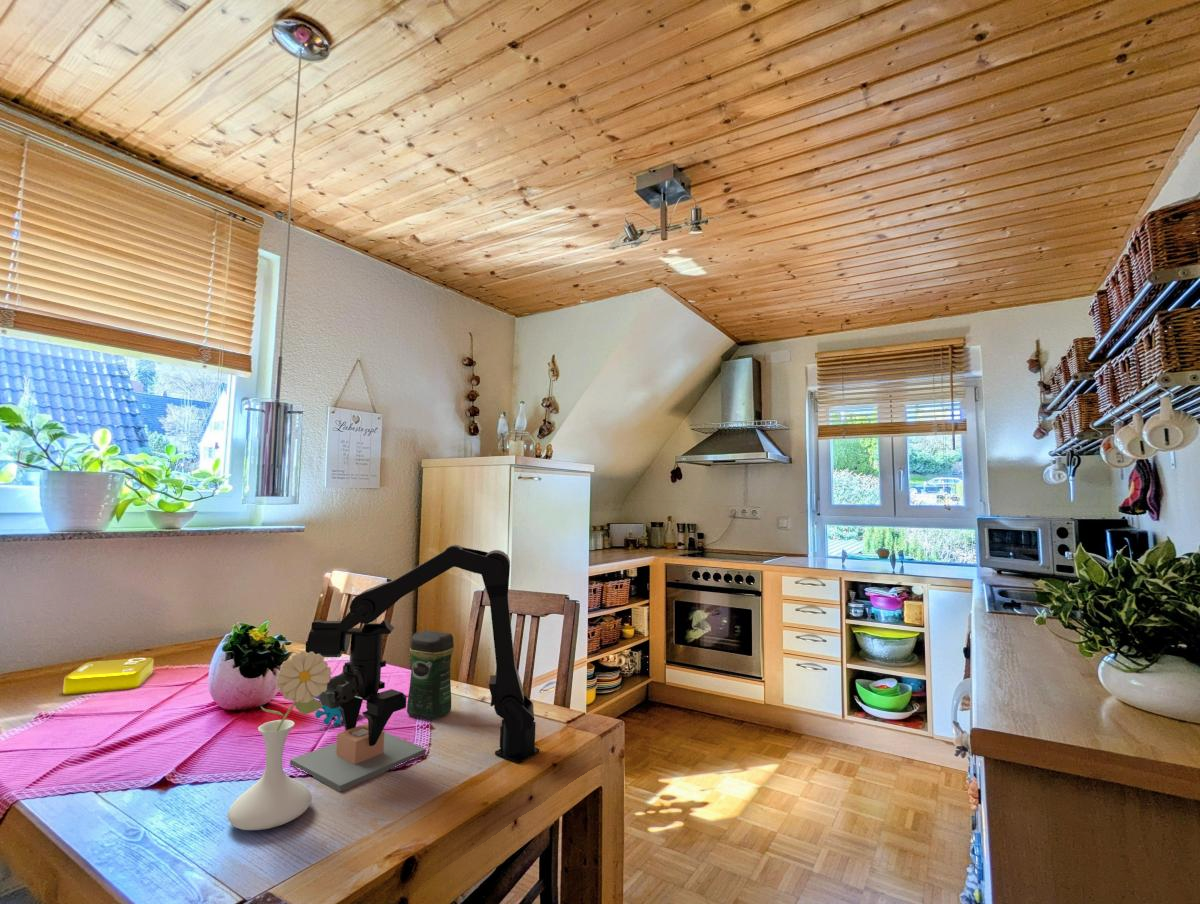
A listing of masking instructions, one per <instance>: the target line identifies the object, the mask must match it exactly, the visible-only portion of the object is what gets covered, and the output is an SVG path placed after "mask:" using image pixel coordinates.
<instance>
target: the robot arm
mask: <svg viewBox="0 0 1200 904" xmlns="http://www.w3.org/2000/svg"><path fill="white" fill-rule="evenodd" d="M452 568H458V569H461V570H464V571H466V572H467V571H468V572H470V573H473V574H478V575H481V577H482V581H483V585H484V588H485V590H486V593H487V597H488V600H489V605H490V606H489V607H490V614H491V627H492V637H493V647H494V657H495V665H496V674H494V675H493V674H491V675H489V683H488V688H489V691H490V695H491V697H490V705H489V706H490V707H494V711H495V713H496V715H497V716H498V717H500V718H501V725H500V727H499V749H497V750H495V751H494V754H495V756H498V757H501V758H503V759H506V760H510V761H511V760H513V761H512V762H514V761H516V762H515V763H517V762H520V763H522V762H524V761H526V760H528V759H529V758H531V757H533V756H534V754H535V753H537V752H538V753H540V752H539V751H541V750H540V748H539V747H536V725H537V722H536V721H535V713H534V712H535V711H534V702H533V701H532V700H531V699H530V698H529V697H528V696H527V695H526V694H525V693H524V687H523V684H522V680H521V677H520V673H519V671H518V670H519V669H518V668H517V665H516V661H515V660H516V659H515V651H514V642H513V641H514V640H513V633H512V632H513V631H512V622H511V621H512V620H511V612H510V611H511V610H510V603H509V586H510V574H511V573H510V570H511V560H510V557H509V556H508V554H507V553H505V552H504V551H502V550H498V549H493V550H491V551H489V552H488V551H484V550H478V549H473V548H467V547H463V546H461V545H459V544H452V545H450V546H448V547H447V548H446V549H445V550H443V551H442V552H440V553H438V554H437V555H435V556H433V557H431V558H430V559H428V560H427V561H424V562H423V563H421V564H420V565H417V566H415V567H414V568H413V569H411V570H409V571H407V572H406V573H404V574H402V575H401V576H399V577H397V578H395V579H392V580H389V581H387V582H383V583H380V584H378V585H376V586H373V587H370V588H367V589H365V590H364V591H362V592H361V593H359V594H358V595H356V596H354V597H353V599H352V600H351V601H350V605H349V612H348V613H347V614H346V615H345V616H344V617H343V618H342V619H341V620H324V619H315V620H314V621H312V622H311V628H310V630H309V633H308V637H307V641H306V642H305V652H308V653H309V652H314V653H315V654H320V655H321V656H323V657H324V658H341V657H342V655H343V653H344V652H348V650H349V649H350V650H349V661H347V662H345V663H344V665H342V672H341V673H339V674H337V675H335V676H333V677H332V678H331V677H330V682H329V683H327V690H326V691H325V692H322V693H321V694H320V695H319V698H320V700H319V702H320V703H321V704H322V705H323V706H324V705H325V706H328V707H329V708H331V709H335V708H337V707H339V710H340V712H341V720H342V722H343V726H344V731H346V730H349V729H351V728H354V727H357V723H358V720H359V716H360V712H361V709H362V704H363V701H366V705H365V708H366V711H362V712H361V714H362V715H363V716H364V717H365V718H366V719H367V724H368V734H369V745H370V746H373V745H375V744H376V742H377V740H378V739H379V737H380V735H381V733H382V731H384V729H385V727H386V725H387V723H388V721H389V719H390V718H391V716H392V715H393V713H395V712H397V711H401V710H403V709H407V699H408V697H407V696H406V694H404V692H402V691H398V690H396V689H392V688H390V689H386V690H384V691H381V692H379V691H380V690H381V689H385V687H386V683H385V681H382V680H381V677H382V676H381V671H382V668H384V667H387V661H386V660H384V659H382V655H383V654H382V653H383V640H384V639H383V636H384V635H390V634H391V633H392V632H393V631H394V630H395V627H394V625H392V624H391V623H389V621H388V619H387V618H384V619H383V620H382V621H381V622H380V623H379V622H378V623H377V622H376V623H375V622H374V621H376V620H377V619H378V618H379V617H380V616H381V615H383V614H384V613H385V612H386V611H388V610H389V609H390V608H391V607H392V606H393V605H394V604H395V603H397V602H398V601H399V600H401V598H403V597H405V596H406V595H408V594H410V593H411V592H413V591H415V590H417V589H418V588H420V587H421V586H423V585H425V584H426V583H428V582H430V581H432V580H434V579H435V578H437V577H439V576H440V575H442V574H444V573H445V572H447V571H448V570H450V569H452ZM373 622H374V623H373ZM359 624H363V626H362V627H356V626H357V625H359ZM349 647H350V648H349ZM538 753H537V754H538ZM532 755H533V756H532ZM535 755H536V754H535ZM530 756H531V757H530ZM528 757H529V758H528ZM527 758H528V759H527ZM525 759H526V760H525ZM523 760H524V761H523ZM521 761H522V762H521Z"/></svg>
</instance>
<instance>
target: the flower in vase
mask: <svg viewBox="0 0 1200 904" xmlns="http://www.w3.org/2000/svg"><path fill="white" fill-rule="evenodd" d="M328 665H329V664H328V662H327V661H326V660H325V657H323V656H321V655H320V654H315V653H314V652H309V653H308V652H306V650H301V651H300V652H299V653H296V654H293V655H292V657H291V658H287V660H284V661H283V662H282V664H281V665H280V670H279V672H278V673H277V678H276V683H275V686H276V688H278V692H279V694H283V695H282V699H283V700H288V701H290V702H291V701H292V702H293V703H292V705H291V706H290V707H289V709H288V710H287V711H286V713H285V715H284V714H283V713H282V712H280V711H277V710H272V709H267V708H264V707H263V706H262V705H260V708H261V710H262V711H263V712H266V713H269V714H270V713H271V714H275V715H279V716H283V718H281V719H277V720H272V721H267V722H264V723H262V724H261V725H260V726H258V727H257V730H258V732H259V733H260V734H261V736H262V737H263V740H264V745H265V753H266V754H265V756H266V758H265V766H264V767H265V768H264V771H263V774H262V775H261V777H260V778H259V779H258V780H257V782H255V783H254V784H253V785H251V786H250V787H249V788H248V789H247V790H245V791H244V792H243V793H241V794H240V796H238V798H237V799H236V800H235V801H234V802H233V803H232V805H231V806H230V808H229V810H228V813H227V815H226V817H227V820H228V822H229V823H230V825H232V826H233V827H234V828H236V829H240V830H243V831H260V830H268V829H272V828H275V827H276V828H277V827H279V826H282V825H284V824H287V823H289V822H291V821H293V820H296V819H297V818H298V817H300V816H301V815H303V814H304V813H305V812H306V811H307V809H308V808H309V806H310V805H311V803H312V801H313V800H312V799H313V797H312V794H311V791H310V790H309V788H308V787H306V786H305V785H304V784H303V783H301V782H299V781H298V780H296V779H294V778H292V777H290V776H288V775H287V774H286V773H285V772H284V769H283V756H284V750H285V749H284V748H285V744H286V740H287V737H288V735H289V733H290V732H291V730H292V728H293V727H294V726H295V723H296V722H294V721H293V720H290V719H287V716H288V715H289V714H290V713H291V711H292V710H293V708H294V707H295V709H296V710H297V711H298V712H299V713H300V714H302V715H308V714H311V713H314V712H317V711H318V710H320V709H321V707H323V705H322V704H321V702H320V700H319V699H316V698H314V696H315V697H317V696H319V695H320V694H321V693H322V692H325V691H326V690H327V683H329V682H330V679H331V677H330V676H332V671H331V670H332V668H331V667H330V666H328Z"/></svg>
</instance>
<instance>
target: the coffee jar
mask: <svg viewBox="0 0 1200 904" xmlns="http://www.w3.org/2000/svg"><path fill="white" fill-rule="evenodd" d="M410 640H411V641H410V646H409V652H410V653H409V654H410V658H411V670H410V679H409V681H410V682H409V690H408V697H407V702H406V713H407V715H409V716H411V717H413V718H418V719H423V720H435V719H439V718H444V717H445V716H447V715H448V714H449V713H450V712H451V711H452V688H451V687H452V686H451V685H452V684H451V662H452V656H453V653H454V650H455V647H454V636H453V634H452V633H448V632H440V631H436V630H435V631H434V630H422V631H418V632H415V633H413V635H412V637H411V639H410Z"/></svg>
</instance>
